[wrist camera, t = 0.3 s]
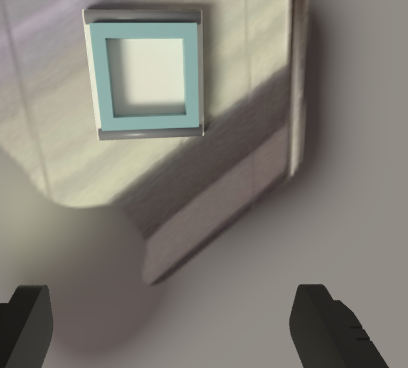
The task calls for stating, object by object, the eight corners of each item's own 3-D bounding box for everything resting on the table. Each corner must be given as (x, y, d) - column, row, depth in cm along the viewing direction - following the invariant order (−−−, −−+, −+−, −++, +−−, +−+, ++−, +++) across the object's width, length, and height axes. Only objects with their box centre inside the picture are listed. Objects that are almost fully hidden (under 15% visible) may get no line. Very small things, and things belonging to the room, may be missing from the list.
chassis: (83, 10, 31) (77, 5, 29) (201, 11, 33) (205, 6, 30) (99, 138, 36) (94, 144, 33) (202, 133, 37) (206, 139, 34)
